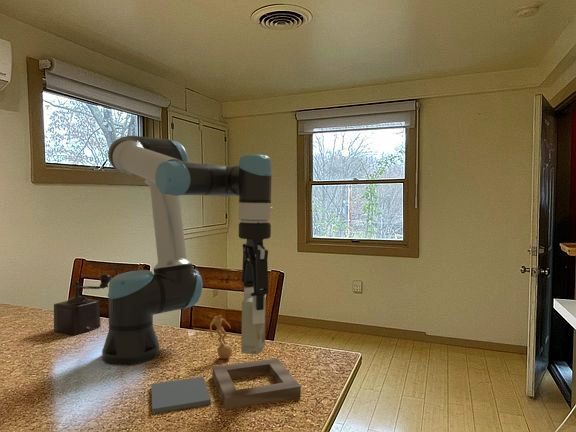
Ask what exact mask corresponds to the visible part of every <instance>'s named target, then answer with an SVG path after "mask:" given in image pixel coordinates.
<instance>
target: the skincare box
mask: <svg viewBox="0 0 576 432" xmlns="http://www.w3.org/2000/svg"><path fill="white" fill-rule="evenodd" d="M266 299H267V297H266V296H265V315H266V312H267V311H266V306H267V304H266V303H267V301H266ZM240 338H241V341H240V342H241V343H240V344H241V345H240V346H241V347H240V349H241V352H240V353H241V354H247V355H255V356H257V355H260V353H261V352H262V351H263V350H264V348H265V347H266V322H265V323H261V324H252V296H249V297H248V298H246V299H245V300H244V299H243V300H242V301H241V337H240Z"/></svg>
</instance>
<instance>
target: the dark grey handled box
mask: <svg viewBox="0 0 576 432" xmlns="http://www.w3.org/2000/svg"><path fill="white" fill-rule="evenodd" d="M112 278H113V277H112V276H111V275H110V274H108V273H107V274H106V273H103V274H100V276H99V280H100V285H99V286H93V285H92V286H91V285H88V286H87V285H84V286H83V285H82V286H80V282H79V281H78V280H76V281H75V282H74V288H75V289H74V290H75V294H74V296H73V297H70V298H68V299H67V300H66V301H61V302H57V303H53V331H54V332H56V333H59V334H63V335H69V336H73V337H74V336H79V335H82V334H84V333H88V332H90V331H93V330H95V329H98V328H99V327H101V326H102V325H101V307H100V306H101V301H100V300H97V299H92V298H88V297H86V296H84V295H79V289H82V290H83V289H84V290H85V289H87V290H88V289H89V290H90V289H91V290H99V289H106V288H109V282H110V280H111V279H112Z"/></svg>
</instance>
